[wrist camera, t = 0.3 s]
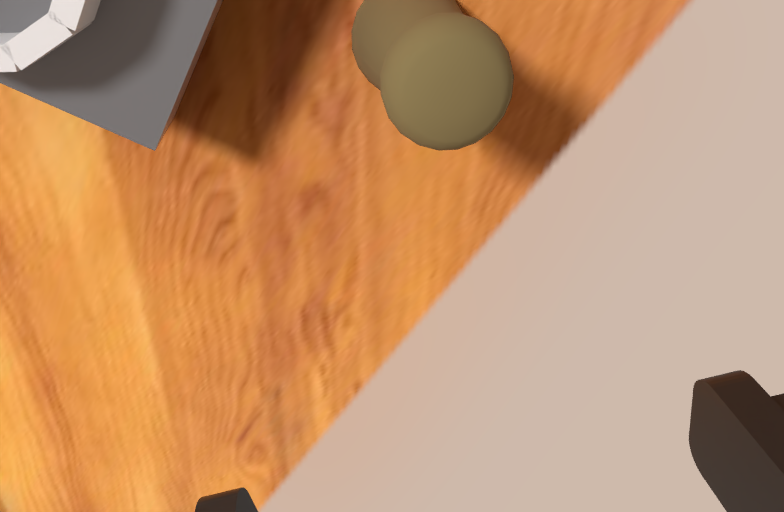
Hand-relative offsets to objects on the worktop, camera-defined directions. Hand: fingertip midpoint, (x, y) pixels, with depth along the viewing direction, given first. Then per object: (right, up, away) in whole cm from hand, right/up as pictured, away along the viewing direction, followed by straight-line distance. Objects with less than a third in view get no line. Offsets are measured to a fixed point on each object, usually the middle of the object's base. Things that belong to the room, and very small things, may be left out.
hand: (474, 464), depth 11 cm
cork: (-1, +15, +21) cm, 26 cm away
